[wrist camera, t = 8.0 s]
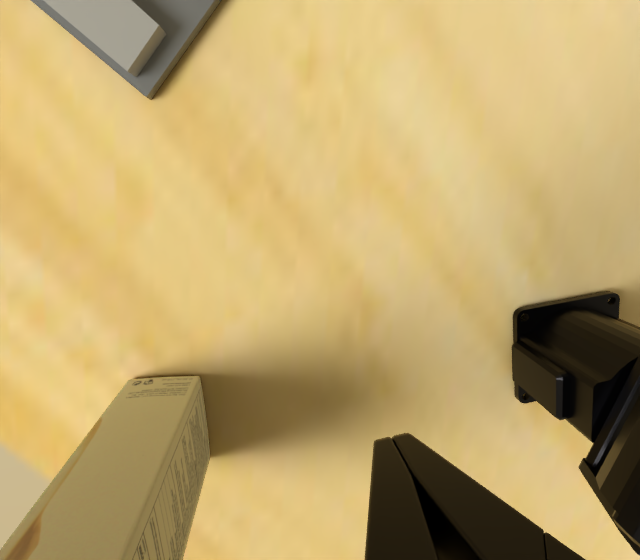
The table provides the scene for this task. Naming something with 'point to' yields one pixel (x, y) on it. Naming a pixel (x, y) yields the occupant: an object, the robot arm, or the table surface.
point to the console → (134, 33)
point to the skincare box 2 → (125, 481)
